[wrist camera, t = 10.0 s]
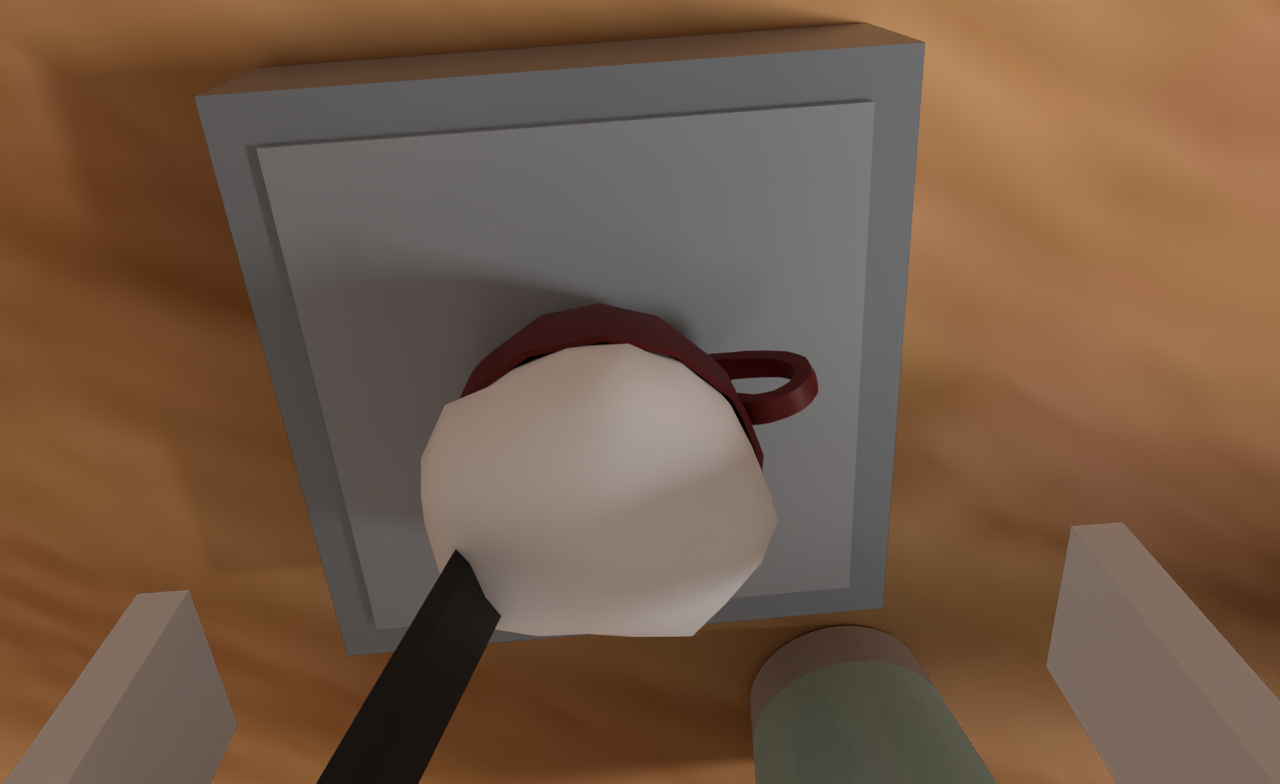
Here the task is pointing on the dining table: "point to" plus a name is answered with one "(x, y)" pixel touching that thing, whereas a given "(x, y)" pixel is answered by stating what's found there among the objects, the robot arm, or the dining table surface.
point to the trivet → (578, 267)
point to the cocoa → (576, 509)
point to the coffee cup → (855, 716)
